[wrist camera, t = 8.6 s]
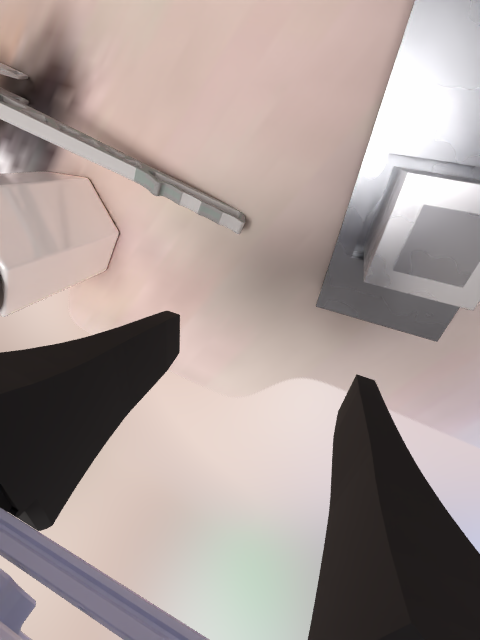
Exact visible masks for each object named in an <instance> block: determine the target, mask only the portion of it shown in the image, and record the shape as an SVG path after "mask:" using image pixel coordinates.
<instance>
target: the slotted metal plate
mask: <svg viewBox="0 0 480 640" xmlns="http://www.w3.org/2000/svg"><path fill="white" fill-rule="evenodd" d="M393 166H396V167H402V168H409V169H415V170H421V171H427V172H433V173H440V174H446V175H452V176H458V177H465V178H471V179H477V180H480V0H415V2H414V5H413V8H412V11H411V14H410V17H409V20H408V23H407V26H406V29H405V33H404V36H403V39H402V42H401V45H400V48H399V51H398V54H397V57H396V60H395V63H394V67H393V70H392V73H391V76H390V79H389V82H388V85H387V88H386V91H385V94H384V97H383V100H382V104H381V107H380V110H379V113H378V116H377V119H376V122H375V125H374V128H373V131H372V134H371V138H370V141H369V144H368V147H367V150H366V153H365V156H364V159H363V162H362V165H361V168H360V172H359V175H358V178H357V181H356V184H355V187H354V190H353V193H352V196H351V199H350V202H349V205H348V209H347V212H346V215H345V218H344V221H343V224H342V227H341V230H340V233H339V236H338V239H337V243H336V246H335V249H334V252H333V255H332V258H331V261H330V264H329V267H328V270H327V273H326V277H325V280H324V283H323V286H322V289H321V292H320V295H319V298H318V301H317V304H316V307H320V308H323V309H327V310H330V311H333V312H337V313H340V314H344V315H347V316H351V317H354V318H357V319H361V320H364V321H368V322H371V323H375V324H378V325H382V326H385V327H388V328H392V329H395V330H399V331H402V332H406V333H409V334H413V335H416V336H419V337H423V338H426V339H430V340H433V341H438V340H439V338H440V337H441V335H442V334H443V332H444V331H445V329H446V328H447V326H448V325H449V323H450V321H451V320H452V318H453V317H454V315H455V314H456V312H457V311H458V309H459V308H460V307H458V306H454V305H450V304H446V303H442V302H439V301H435V300H431V299H427V298H423V297H419V296H415V295H412V294H408V293H404V292H400V291H396V290H392V289H388V288H385V287H381V286H377V285H373V284H369V283H365V282H364V243H365V240H366V237H367V235H368V232H369V229H370V227H371V224H372V222H373V219H374V216H375V214H376V211H377V208H378V206H379V203H380V201H381V198H382V195H383V193H384V190H385V187H386V185H387V182H388V179H389V177H390V174H391V172H392V169H393Z"/></svg>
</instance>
